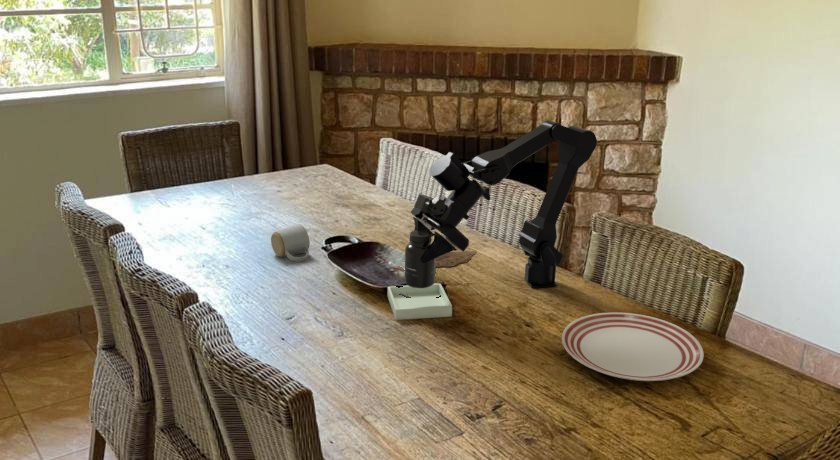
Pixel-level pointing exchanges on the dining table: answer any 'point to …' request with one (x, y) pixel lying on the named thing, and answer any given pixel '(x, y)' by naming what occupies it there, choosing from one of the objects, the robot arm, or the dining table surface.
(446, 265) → the wooden fragment
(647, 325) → the dinner plate
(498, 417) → the dining table surface
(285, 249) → the ceramic mug
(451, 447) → the dining table surface
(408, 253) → the supplement bottle
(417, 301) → the tray
